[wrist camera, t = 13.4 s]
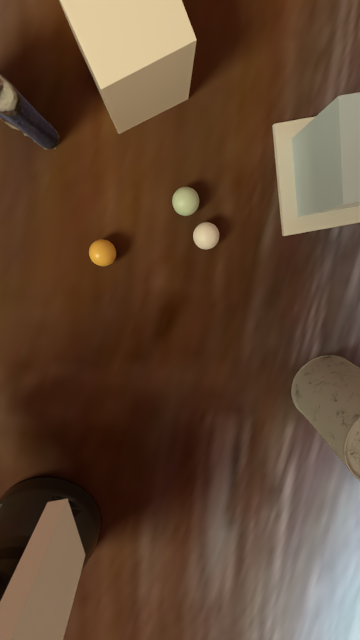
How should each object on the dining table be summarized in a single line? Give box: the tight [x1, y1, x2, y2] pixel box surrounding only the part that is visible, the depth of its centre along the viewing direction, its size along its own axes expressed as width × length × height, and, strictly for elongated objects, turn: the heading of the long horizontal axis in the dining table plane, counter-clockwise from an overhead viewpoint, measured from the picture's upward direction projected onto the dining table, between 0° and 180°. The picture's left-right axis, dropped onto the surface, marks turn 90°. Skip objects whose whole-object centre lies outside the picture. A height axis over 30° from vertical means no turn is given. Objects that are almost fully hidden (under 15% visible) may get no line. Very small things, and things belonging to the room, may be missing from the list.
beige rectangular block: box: [59, 0, 197, 134], centre depth 27 cm, size 8×8×9 cm
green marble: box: [172, 187, 199, 216], centre depth 33 cm, size 3×3×3 cm
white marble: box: [193, 222, 219, 249], centre depth 33 cm, size 3×3×3 cm
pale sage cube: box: [292, 92, 360, 217], centre depth 29 cm, size 8×8×9 cm
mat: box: [272, 116, 360, 236], centre depth 34 cm, size 12×12×1 cm
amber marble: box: [89, 239, 116, 266], centre depth 33 cm, size 3×3×3 cm
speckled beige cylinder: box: [291, 355, 360, 480], centre depth 34 cm, size 10×10×12 cm
